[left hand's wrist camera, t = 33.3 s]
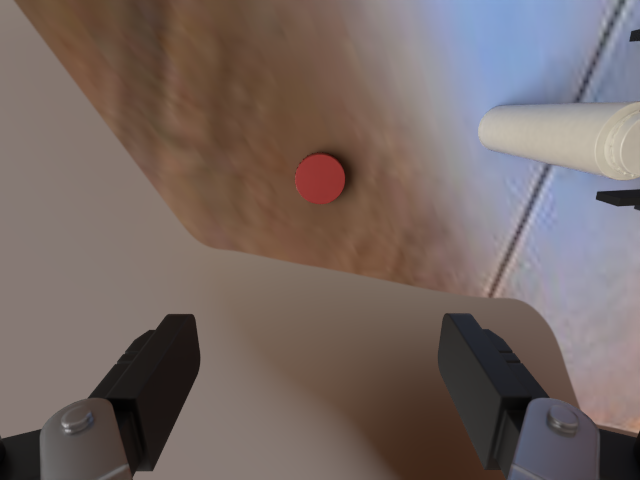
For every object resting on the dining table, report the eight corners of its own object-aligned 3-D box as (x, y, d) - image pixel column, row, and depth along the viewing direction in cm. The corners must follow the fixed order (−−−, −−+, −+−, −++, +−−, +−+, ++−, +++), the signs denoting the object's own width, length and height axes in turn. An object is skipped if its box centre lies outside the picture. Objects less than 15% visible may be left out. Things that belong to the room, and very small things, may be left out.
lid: (307, 143, 38) (306, 145, 36) (353, 164, 39) (354, 166, 37) (288, 189, 40) (286, 192, 38) (332, 208, 40) (332, 212, 39)
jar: (480, 155, 38) (610, 192, 21) (475, 111, 37) (612, 112, 20) (523, 145, 38) (693, 173, 21) (521, 99, 36) (701, 90, 19)
